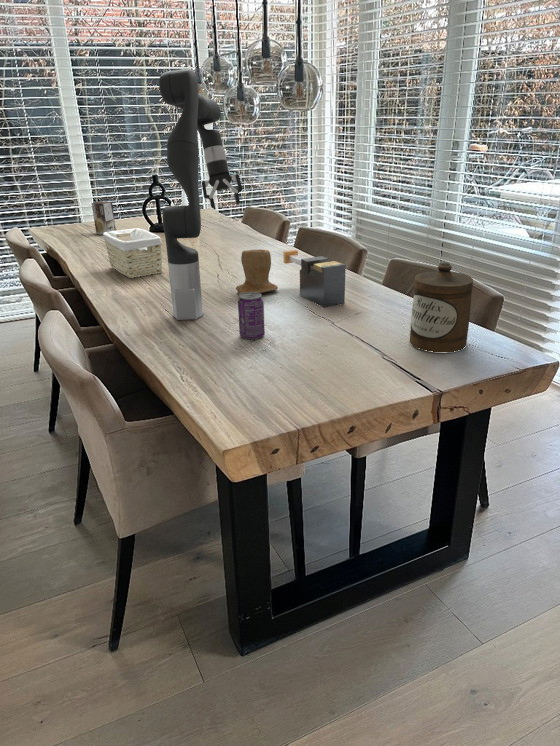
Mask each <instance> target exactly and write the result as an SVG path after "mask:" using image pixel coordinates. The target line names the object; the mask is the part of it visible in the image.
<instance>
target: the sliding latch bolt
mask: <svg viewBox="0 0 560 746" xmlns="http://www.w3.org/2000/svg"><path fill="white" fill-rule="evenodd" d="M301 259H305V257H303V256H300V255H299V251H298V250H297V249H293V250H287V251H283V263H284V264H291V263H294V264H297V265H299V266H301ZM313 266H314V265H313ZM313 266H310V270H312V269H313Z"/></svg>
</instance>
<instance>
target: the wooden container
mask: <svg viewBox="0 0 560 746" xmlns="http://www.w3.org/2000/svg"><path fill="white" fill-rule="evenodd" d="M452 269H453V267H452V264H450V263H449V262H445V261H444V262H441V263H440V264H438V265H437V270H438V271H437V270H434V271H433V270H431V271H426V272H424V271H423V272H421V273H418V274H416V275H415V276H414V283H413V289H414V291H413V300H412V308H411V317H410V318H411V319H410V331H409V343H411V344H412V345H413V346H412V345H411V344H410V345H411V346H412V347H414V346H415V347H417V348H420V349H423V350H427V351H433V352H454V351H458V350H461V349H463V348H464V347H465V346H466V347H467V343H468V335H469V334H468V333H469V326H470V319H471V318H470V317H471V307H472V306H471V303H472V294H473V285H474V279H473V278H472V277H471V276H470V275H469V274H465V273H461V272H458V271H457V272H456V271H452ZM415 347H414V348H415ZM466 347H465V348H466ZM417 348H416V349H417ZM465 348H464V349H465ZM464 349H463V350H464ZM461 351H462V350H461ZM458 352H459V351H458ZM454 353H455V352H454Z"/></svg>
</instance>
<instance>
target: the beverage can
mask: <svg viewBox="0 0 560 746" xmlns="http://www.w3.org/2000/svg"><path fill="white" fill-rule="evenodd" d="M238 295H239V294H238ZM238 297H239V299H238V301H237V310H238V314H237V315H238V327H239V328H238V330H239V336H240V337H241V338H244V339H246V340H256V338H257V339H259V338H262V337H264V335H265V331H266V330H265V306H264V305H265V303H264V299H263V298H262V297H263V295H262V293H256V292H247V293H242V294H240V295H239V296H238Z"/></svg>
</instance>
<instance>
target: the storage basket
mask: <svg viewBox="0 0 560 746" xmlns="http://www.w3.org/2000/svg"><path fill="white" fill-rule="evenodd" d="M102 237H103V240H104V245H105V246H106V250H107V255H108V257H107V258H108V259H109V264H110V267H111V268H113V270H115V269H116V270H115V271H117V272H119V273H120V274H121V275H124V276H125V277H127V278H128V279H129V278H130V279H134V277H135V278H140V276H141V277H147V276H152V275H151V274H153V275H158V274H160V273H162V272H163V264H162V263H163V260H162V258H163V257H162V256H163V255H162V244H163V242H162V239H161V237H160V236H159V235H157V234H156V233H153V232H150V231H148V230H146V229H144V228H139V227H136V228H128V229H127V228H126V229H116V231H110V232H104V233H103V236H102ZM123 237H125V238H126V237H130V240H121V239H119V238H123ZM157 273H158V274H157ZM146 275H147V276H146Z"/></svg>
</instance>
